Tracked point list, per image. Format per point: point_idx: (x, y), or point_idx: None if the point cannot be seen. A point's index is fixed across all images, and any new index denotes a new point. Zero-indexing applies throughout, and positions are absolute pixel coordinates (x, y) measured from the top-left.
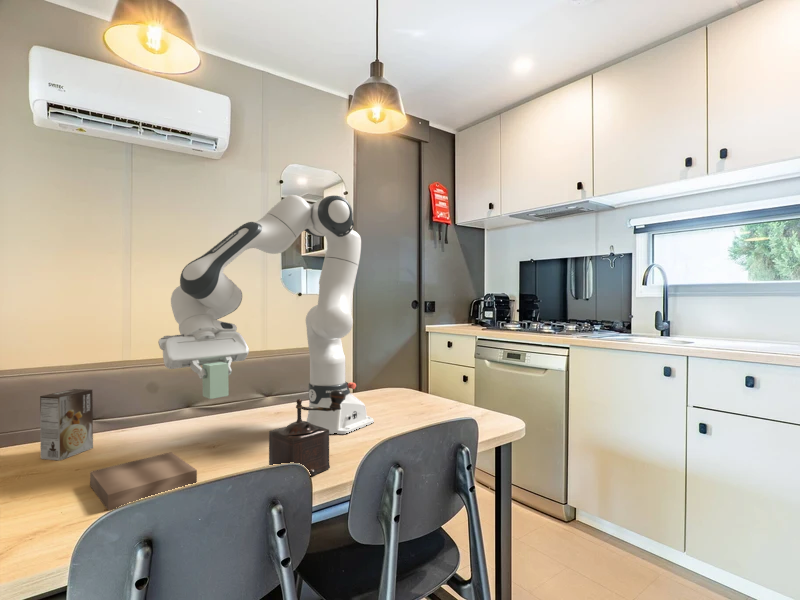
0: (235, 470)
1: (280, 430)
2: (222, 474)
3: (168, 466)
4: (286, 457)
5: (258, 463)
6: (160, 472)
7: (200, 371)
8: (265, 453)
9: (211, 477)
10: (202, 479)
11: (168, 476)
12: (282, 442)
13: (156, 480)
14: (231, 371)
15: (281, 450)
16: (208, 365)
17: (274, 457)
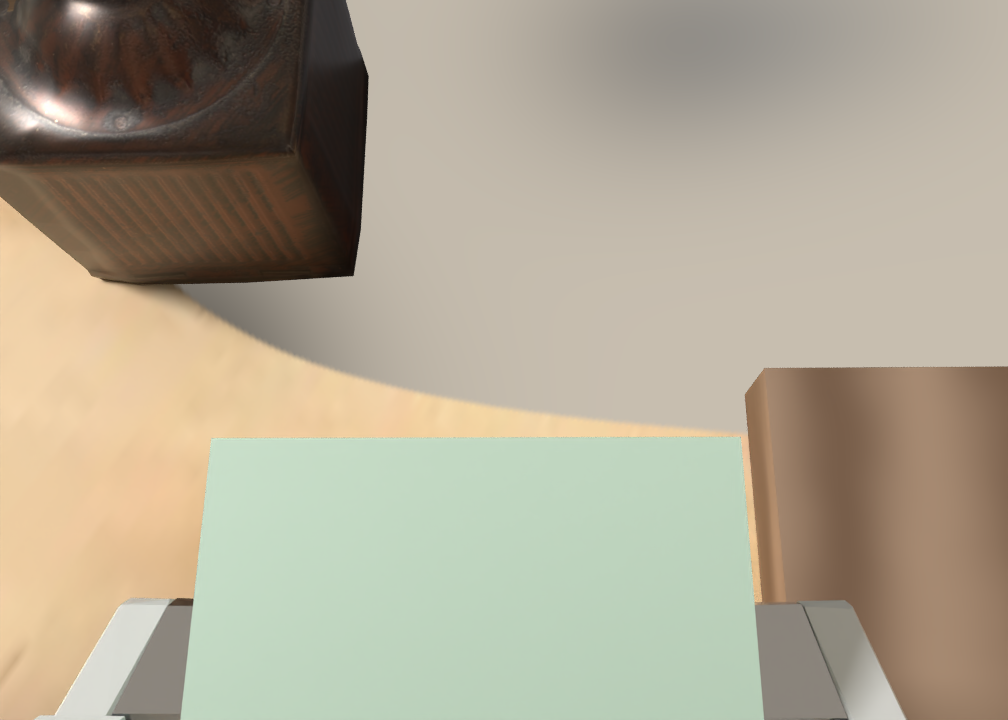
0: (493, 421)
1: (241, 77)
2: (578, 420)
3: (901, 572)
4: (339, 29)
5: (334, 422)
6: (965, 498)
7: (881, 681)
8: (193, 563)
9: (646, 425)
10: (697, 435)
11: (933, 389)
12: (317, 11)
13: (1005, 380)
14: (143, 604)
15: (330, 58)
16: (746, 536)
17: (340, 167)
